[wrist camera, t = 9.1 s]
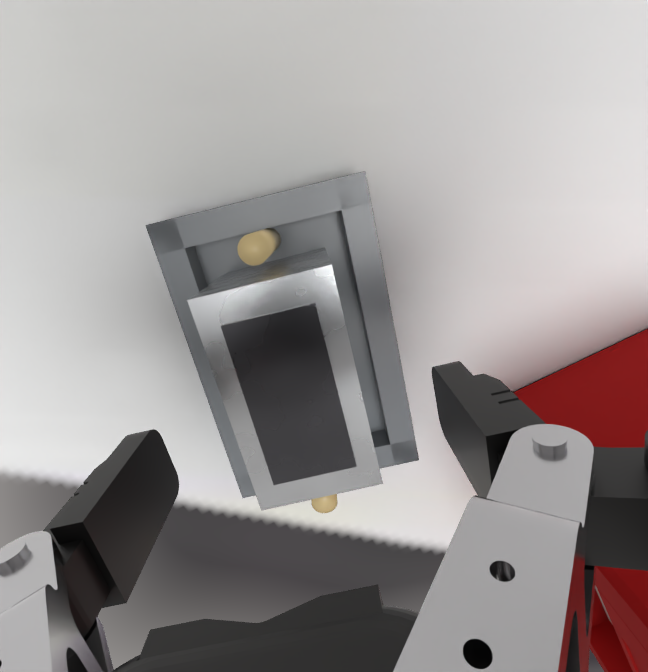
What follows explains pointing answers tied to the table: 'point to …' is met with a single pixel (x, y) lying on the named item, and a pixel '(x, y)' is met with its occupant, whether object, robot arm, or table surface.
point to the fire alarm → (614, 432)
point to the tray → (284, 241)
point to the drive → (288, 378)
